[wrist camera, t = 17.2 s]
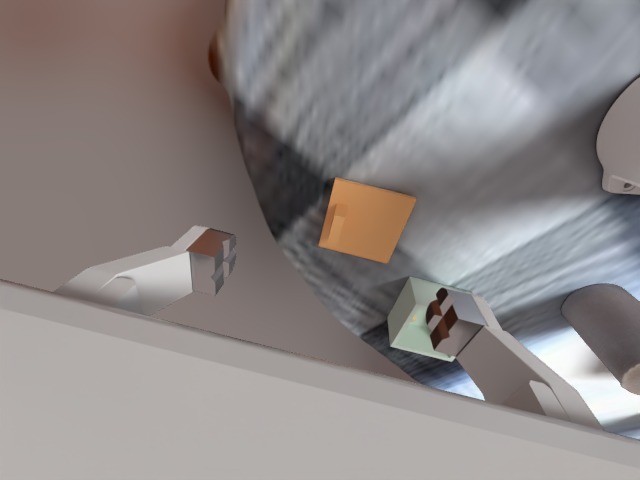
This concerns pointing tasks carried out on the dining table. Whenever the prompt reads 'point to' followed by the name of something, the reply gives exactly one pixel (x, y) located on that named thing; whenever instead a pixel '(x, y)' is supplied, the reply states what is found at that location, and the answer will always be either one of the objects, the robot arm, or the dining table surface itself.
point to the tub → (415, 318)
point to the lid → (365, 220)
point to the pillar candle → (609, 328)
